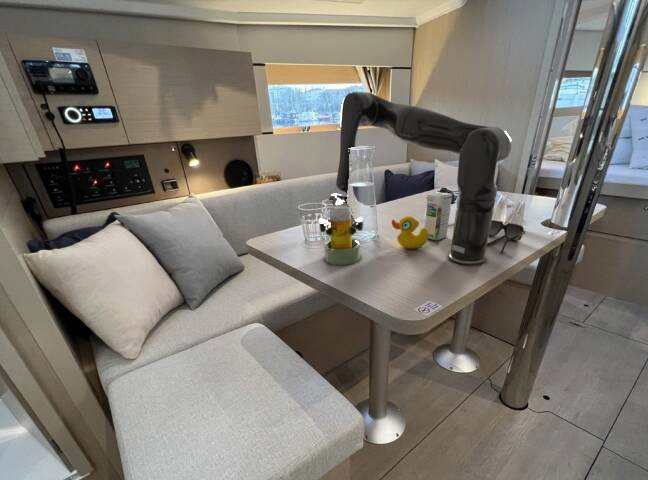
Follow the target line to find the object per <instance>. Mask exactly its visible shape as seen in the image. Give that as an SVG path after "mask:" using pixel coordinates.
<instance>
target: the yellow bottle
mask: <svg viewBox="0 0 648 480" xmlns="http://www.w3.org/2000/svg"><path fill="white" fill-rule="evenodd" d="M329 219H330V227H331V236H330V241H331V246H332V249H334V250H346V249H351V248H352V240H353V235H352V234H351V209H350V206H349V205H345V204H339V205H333V206H331V209H330V212H329Z"/></svg>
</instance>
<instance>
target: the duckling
mask: <svg viewBox="0 0 648 480" xmlns="http://www.w3.org/2000/svg"><path fill="white" fill-rule="evenodd" d="M419 222H420V221H418V220H417V219H415V218H414V217H413V216H410V215H407V216H404V217H401V218H400V219H399V222H397V221H396V220H395V219H392V220H391V225H392V227H393V228H394V229H395V230H400V232H399V233H398V234H397V237H396V239H397V242H398V244H399V245H400V246H401V247H402V248H404V249H418V248H421V247H423V246H425V245H426V244H427V242H428V239H429V238H428V231H427V230H426V229H425V227H422V228H420V230H419V231H418V234H413V233H414V232H415V231H416V229H417V228H418V227H419V225H420V223H419Z"/></svg>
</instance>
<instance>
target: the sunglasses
mask: <svg viewBox="0 0 648 480" xmlns="http://www.w3.org/2000/svg"><path fill="white" fill-rule="evenodd" d="M504 223H507V222H502V221H495V220H492V221H491V226H490V232H489V236H497V235H499V233H501V231H502V230H504V235H505V236H506V237H505V238H506V240H505V242H504V244H503V245H502V248H501V250H500V254H503V252H504V250H505V248H506V246H507V243H508V242H509V241H513V242H514V241H515V242H518V241H520V240H521V239H522V238H523V236H524V235H525V234H526V230H524V226H523V225H522V226H520V225H517V224H513V223H508V224H507V225H503V224H504Z"/></svg>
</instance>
